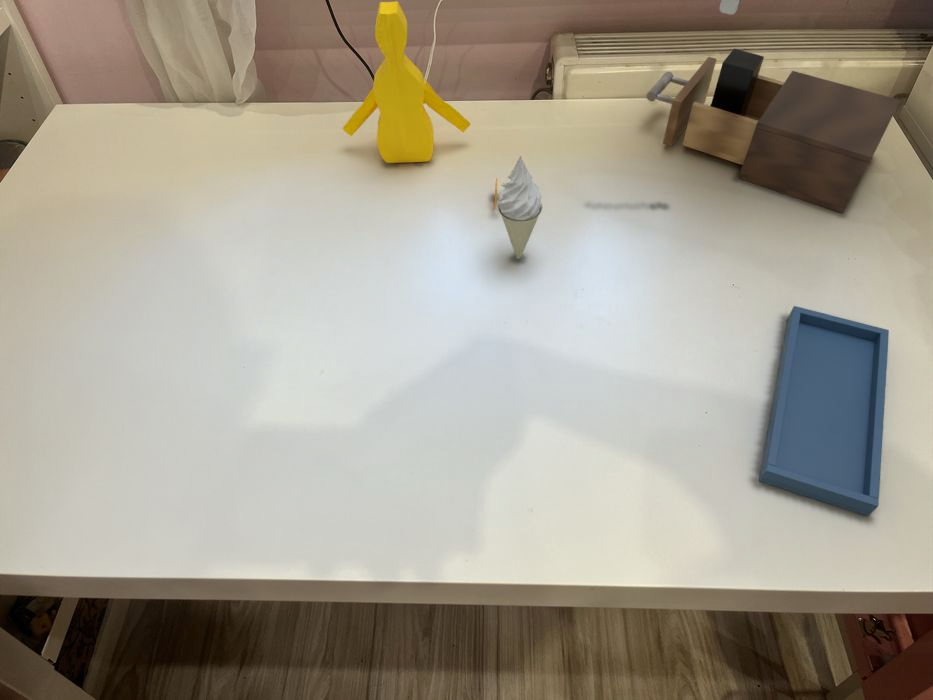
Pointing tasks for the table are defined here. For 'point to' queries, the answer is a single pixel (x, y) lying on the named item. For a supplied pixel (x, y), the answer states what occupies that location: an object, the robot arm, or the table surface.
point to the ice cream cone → (520, 206)
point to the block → (737, 81)
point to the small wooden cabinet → (817, 140)
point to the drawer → (712, 114)
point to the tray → (828, 411)
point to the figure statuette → (401, 97)
